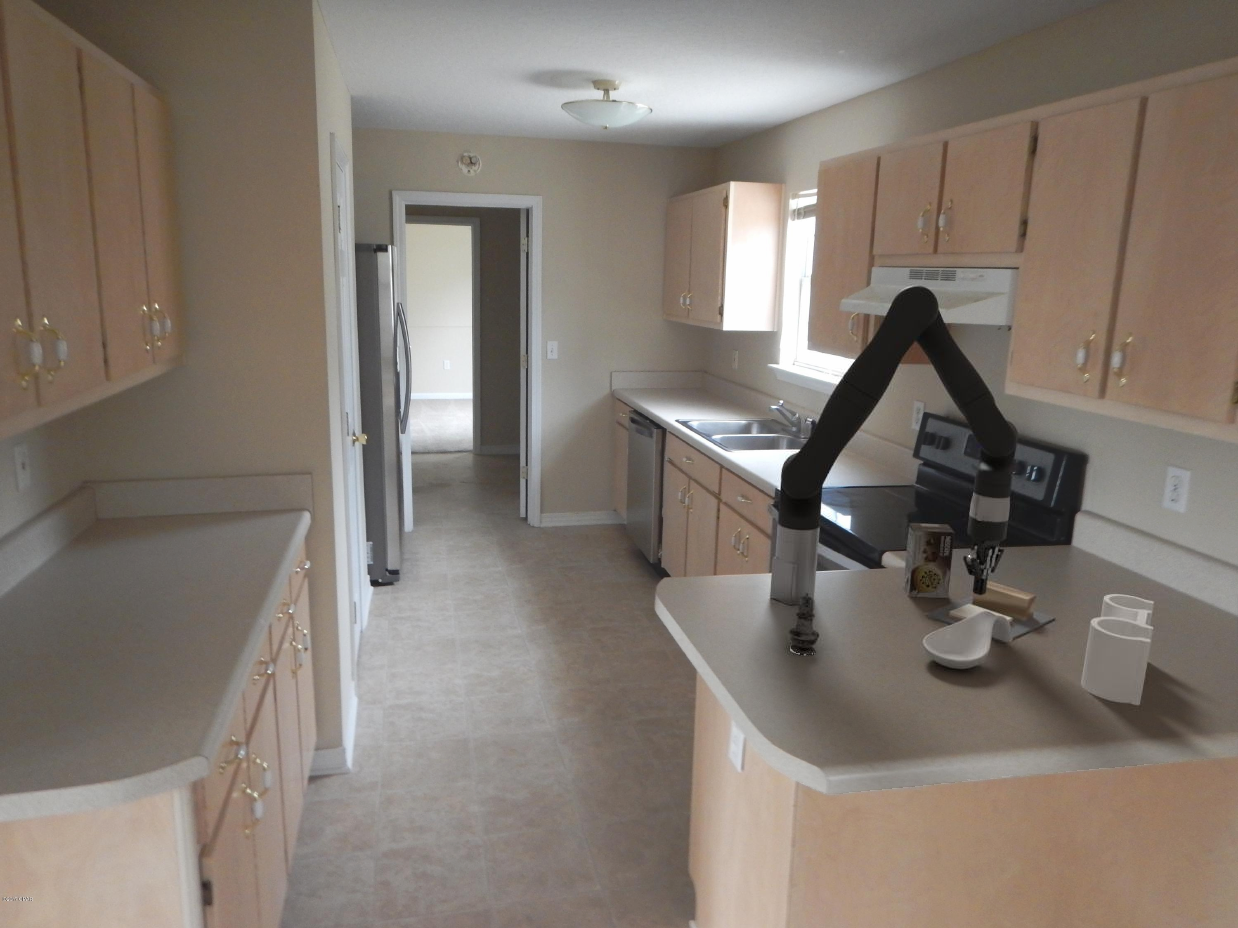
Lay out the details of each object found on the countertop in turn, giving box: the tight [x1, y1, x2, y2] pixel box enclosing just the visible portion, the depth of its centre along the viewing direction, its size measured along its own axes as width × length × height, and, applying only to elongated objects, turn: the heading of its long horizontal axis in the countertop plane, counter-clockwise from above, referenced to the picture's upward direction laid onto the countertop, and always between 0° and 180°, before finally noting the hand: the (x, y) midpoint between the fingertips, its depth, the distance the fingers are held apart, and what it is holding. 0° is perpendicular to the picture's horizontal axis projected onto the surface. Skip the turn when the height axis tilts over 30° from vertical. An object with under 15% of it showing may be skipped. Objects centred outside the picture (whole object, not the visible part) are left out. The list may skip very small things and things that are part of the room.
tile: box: [949, 604, 1013, 624], centre depth 191 cm, size 4×10×8 cm
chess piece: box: [788, 593, 820, 656], centre depth 173 cm, size 6×6×12 cm
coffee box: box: [902, 522, 955, 599], centre depth 206 cm, size 9×6×16 cm
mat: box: [924, 595, 1056, 644], centre depth 194 cm, size 22×18×1 cm
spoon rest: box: [922, 611, 1013, 670], centre depth 173 cm, size 24×12×7 cm, turn 130°
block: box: [972, 580, 1037, 621], centre depth 196 cm, size 4×12×5 cm, turn 39°
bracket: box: [1080, 593, 1155, 706], centre depth 166 cm, size 25×10×12 cm, turn 147°
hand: (978, 593), depth 189 cm, fingers closed
